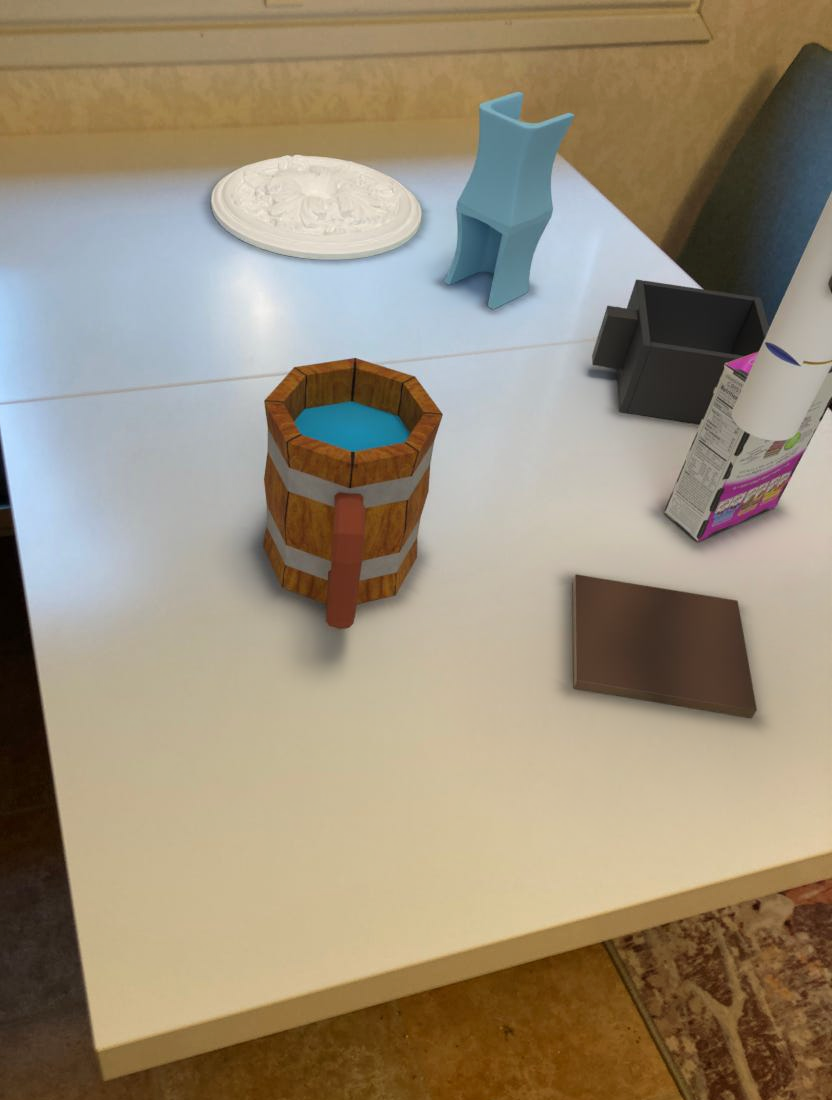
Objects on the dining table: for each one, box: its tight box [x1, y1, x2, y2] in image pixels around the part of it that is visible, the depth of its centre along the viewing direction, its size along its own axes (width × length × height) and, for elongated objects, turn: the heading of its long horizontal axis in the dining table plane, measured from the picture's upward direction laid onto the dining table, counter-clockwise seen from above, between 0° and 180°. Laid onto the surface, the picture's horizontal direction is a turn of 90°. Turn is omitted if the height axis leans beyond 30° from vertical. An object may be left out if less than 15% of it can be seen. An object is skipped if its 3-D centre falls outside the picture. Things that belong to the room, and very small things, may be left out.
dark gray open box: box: [591, 278, 770, 425], centre depth 100 cm, size 17×14×8 cm
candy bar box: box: [663, 351, 832, 542], centre depth 83 cm, size 11×5×16 cm, turn 122°
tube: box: [732, 191, 832, 441], centre depth 56 cm, size 4×4×15 cm
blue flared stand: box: [444, 91, 576, 310], centre depth 107 cm, size 8×8×20 cm
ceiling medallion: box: [210, 154, 422, 261], centre depth 123 cm, size 28×28×3 cm
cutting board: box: [572, 574, 758, 718], centre depth 76 cm, size 14×12×1 cm
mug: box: [262, 357, 444, 630], centre depth 73 cm, size 20×14×15 cm
